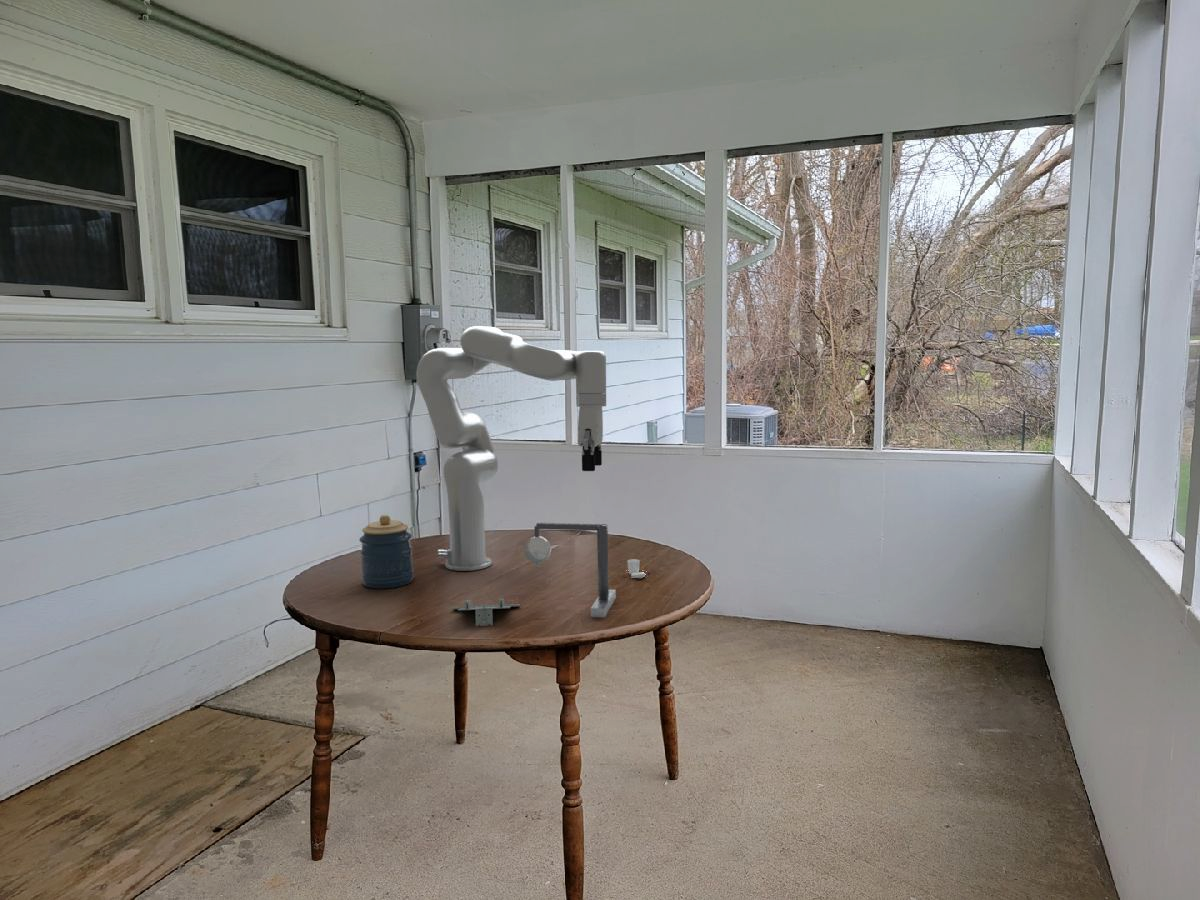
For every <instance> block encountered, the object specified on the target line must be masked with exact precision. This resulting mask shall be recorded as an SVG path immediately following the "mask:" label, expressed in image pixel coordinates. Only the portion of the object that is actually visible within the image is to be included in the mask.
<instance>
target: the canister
mask: <svg viewBox="0 0 1200 900" xmlns="http://www.w3.org/2000/svg"><path fill="white" fill-rule="evenodd" d="M408 530H409V525H407V524H405V523H403V522H402V521H401V520H394V519H393V520H392V519H391V518H390V516H389V515H388V514H383V515H382V514H381V516H380V517H379V520H378V521H374V522H370V523H368V524H367V526H364V527H363V528H362V529H361V531H362V532H363V535H362V536H360V537H359V539H358V540H359V542H360V543H361V550H360V552H359V554H360V563H361V575H360V576H361V581H362V585H363V586H364V587H366V588H369V589H370V588H371V589H391V588H396V587H397V588H398V587H403V586H405V585H407V584H410V583H411V582H413V579H414V574H415V573H414V568H413V567H414V566H413V546H412V545H411V539H412V538H413V535H412V533H411V532H409V531H408Z"/></svg>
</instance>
